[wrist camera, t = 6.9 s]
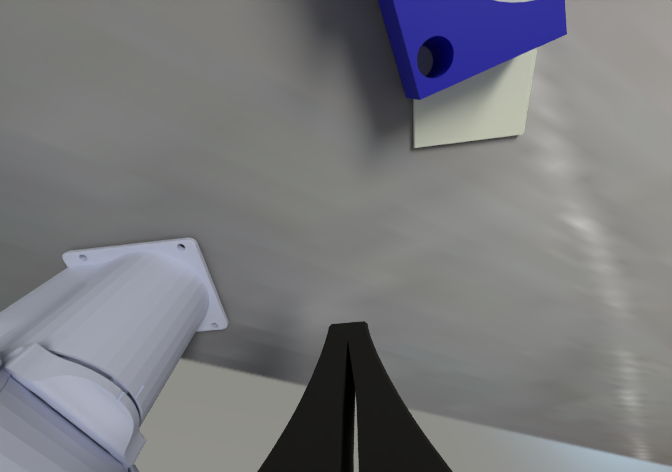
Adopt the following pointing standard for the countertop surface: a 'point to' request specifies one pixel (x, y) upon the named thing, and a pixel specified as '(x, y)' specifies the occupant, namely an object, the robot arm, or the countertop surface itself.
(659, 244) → the countertop surface
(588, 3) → the countertop surface
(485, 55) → the cable clip
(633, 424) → the countertop surface
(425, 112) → the mat
